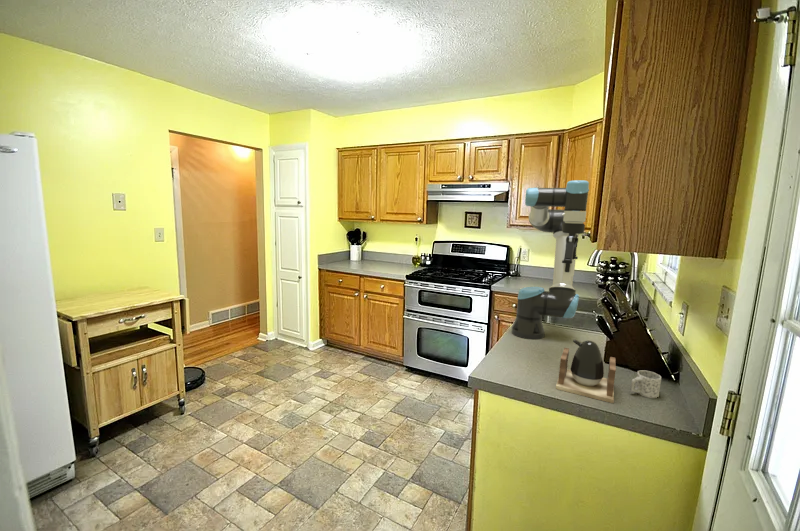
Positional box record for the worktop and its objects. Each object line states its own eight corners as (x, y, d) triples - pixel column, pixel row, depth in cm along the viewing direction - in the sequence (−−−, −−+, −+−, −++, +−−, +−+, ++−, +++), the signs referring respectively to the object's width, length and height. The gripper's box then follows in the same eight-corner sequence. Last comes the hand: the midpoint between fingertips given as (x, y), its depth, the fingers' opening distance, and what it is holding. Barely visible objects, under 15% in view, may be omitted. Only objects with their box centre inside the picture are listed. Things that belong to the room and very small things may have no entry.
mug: (646, 387, 124) (648, 369, 123) (663, 397, 118) (666, 378, 117) (621, 389, 122) (624, 371, 121) (638, 400, 116) (641, 380, 115)
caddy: (561, 371, 135) (564, 345, 134) (613, 383, 127) (616, 355, 125) (555, 388, 122) (558, 360, 120) (613, 403, 113) (617, 373, 112)
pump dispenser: (573, 372, 131) (577, 333, 129) (604, 381, 125) (609, 340, 122) (565, 382, 124) (569, 341, 121) (598, 393, 117) (604, 349, 115)
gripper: (566, 221, 146) (561, 272, 150) (558, 222, 125) (553, 281, 129) (587, 222, 143) (581, 274, 146) (582, 223, 121) (576, 284, 125)
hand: (568, 278), depth 137 cm, fingers open, 13 cm apart
